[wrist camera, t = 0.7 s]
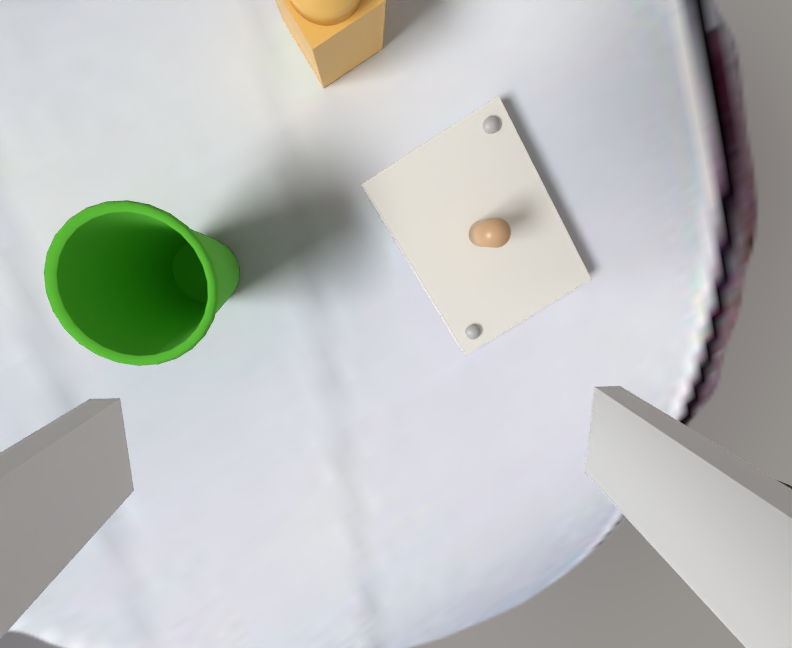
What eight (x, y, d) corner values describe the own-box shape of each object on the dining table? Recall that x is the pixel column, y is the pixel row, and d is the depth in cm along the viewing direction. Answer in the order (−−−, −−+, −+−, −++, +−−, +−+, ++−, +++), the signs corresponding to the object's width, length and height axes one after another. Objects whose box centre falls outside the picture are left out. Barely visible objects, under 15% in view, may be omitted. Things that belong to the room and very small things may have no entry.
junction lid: (361, 186, 32) (360, 176, 27) (492, 101, 32) (517, 74, 26) (461, 350, 36) (478, 370, 30) (582, 277, 35) (620, 284, 30)
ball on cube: (283, 20, 30) (253, -57, 22) (343, -21, 30) (334, -114, 22) (323, 88, 31) (308, 37, 23) (382, 49, 31) (387, -16, 23)
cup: (249, 203, 32) (190, 185, 21) (276, 314, 34) (235, 350, 23) (134, 223, 32) (16, 216, 21) (168, 335, 34) (76, 380, 23)
